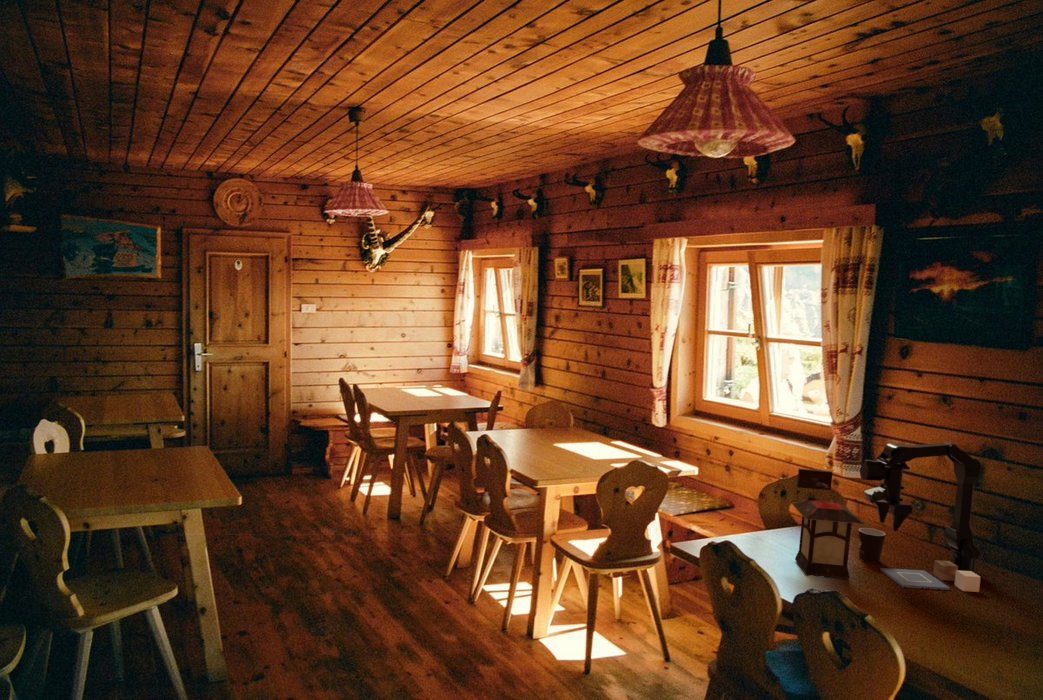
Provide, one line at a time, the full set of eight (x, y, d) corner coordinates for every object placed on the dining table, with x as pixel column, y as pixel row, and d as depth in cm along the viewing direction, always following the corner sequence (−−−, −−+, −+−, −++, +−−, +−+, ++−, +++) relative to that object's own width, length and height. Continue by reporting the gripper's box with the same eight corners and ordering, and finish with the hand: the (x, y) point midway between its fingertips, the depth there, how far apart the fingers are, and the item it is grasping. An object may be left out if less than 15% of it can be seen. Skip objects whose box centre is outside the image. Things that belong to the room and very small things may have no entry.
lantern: (834, 556, 275) (843, 472, 272) (859, 583, 249) (868, 491, 246) (780, 551, 276) (788, 467, 274) (799, 577, 251) (808, 485, 248)
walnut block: (947, 575, 262) (949, 561, 262) (956, 581, 257) (958, 566, 257) (933, 574, 262) (934, 560, 262) (941, 580, 257) (943, 565, 257)
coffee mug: (879, 566, 267) (882, 537, 266) (852, 559, 272) (855, 531, 271) (887, 558, 276) (890, 530, 275) (861, 551, 281) (864, 524, 281)
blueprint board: (924, 572, 263) (924, 570, 263) (949, 590, 248) (949, 587, 248) (880, 570, 263) (880, 567, 263) (902, 587, 248) (903, 584, 248)
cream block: (969, 586, 253) (971, 571, 253) (978, 592, 248) (980, 576, 248) (954, 585, 253) (956, 570, 253) (963, 591, 248) (965, 576, 248)
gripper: (856, 473, 273) (852, 517, 274) (882, 487, 254) (877, 534, 255) (888, 475, 273) (884, 518, 274) (916, 489, 254) (911, 535, 255)
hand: (888, 526), depth 265 cm, fingers open, 9 cm apart
